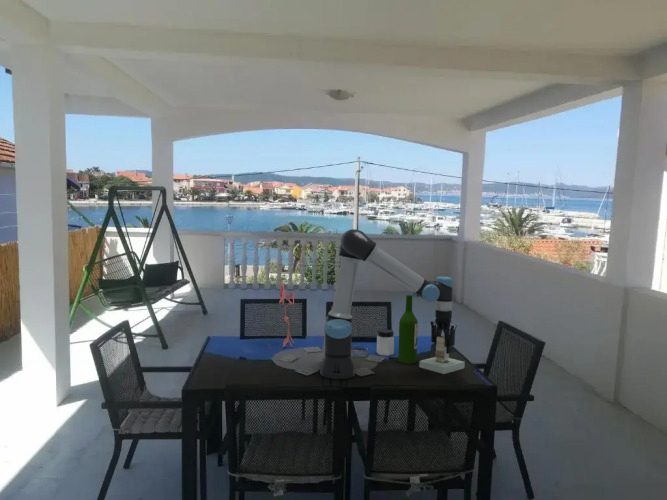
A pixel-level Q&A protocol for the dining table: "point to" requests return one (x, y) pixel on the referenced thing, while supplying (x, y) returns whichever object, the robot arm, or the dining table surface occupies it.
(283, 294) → the figurine
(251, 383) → the dining table surface
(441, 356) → the peg
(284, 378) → the dining table surface
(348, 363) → the robot arm
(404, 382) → the dining table surface
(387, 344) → the jar
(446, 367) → the plinth
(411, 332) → the wine bottle
